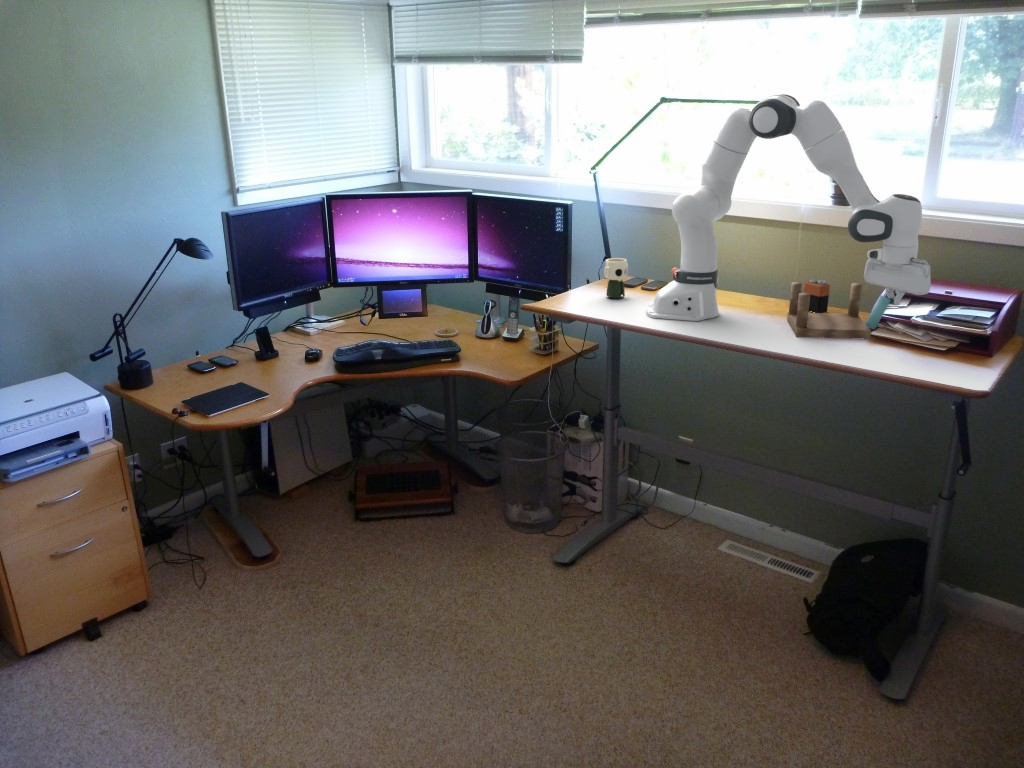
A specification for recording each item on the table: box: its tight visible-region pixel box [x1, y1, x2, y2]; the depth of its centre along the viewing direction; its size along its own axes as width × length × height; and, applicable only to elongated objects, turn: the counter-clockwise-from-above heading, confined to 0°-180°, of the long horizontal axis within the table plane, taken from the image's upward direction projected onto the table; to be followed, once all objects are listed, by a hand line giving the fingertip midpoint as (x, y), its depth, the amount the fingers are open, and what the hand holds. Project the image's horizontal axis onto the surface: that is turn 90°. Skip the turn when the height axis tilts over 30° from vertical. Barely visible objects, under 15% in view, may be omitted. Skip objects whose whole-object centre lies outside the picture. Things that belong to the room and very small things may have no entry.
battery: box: [802, 278, 831, 313], centre depth 263 cm, size 4×7×10 cm, turn 32°
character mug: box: [603, 257, 629, 299], centre depth 283 cm, size 11×7×13 cm, turn 128°
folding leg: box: [864, 295, 891, 330], centre depth 234 cm, size 3×3×9 cm
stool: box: [786, 281, 872, 340], centre depth 243 cm, size 20×18×12 cm
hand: (893, 304), depth 233 cm, fingers closed
